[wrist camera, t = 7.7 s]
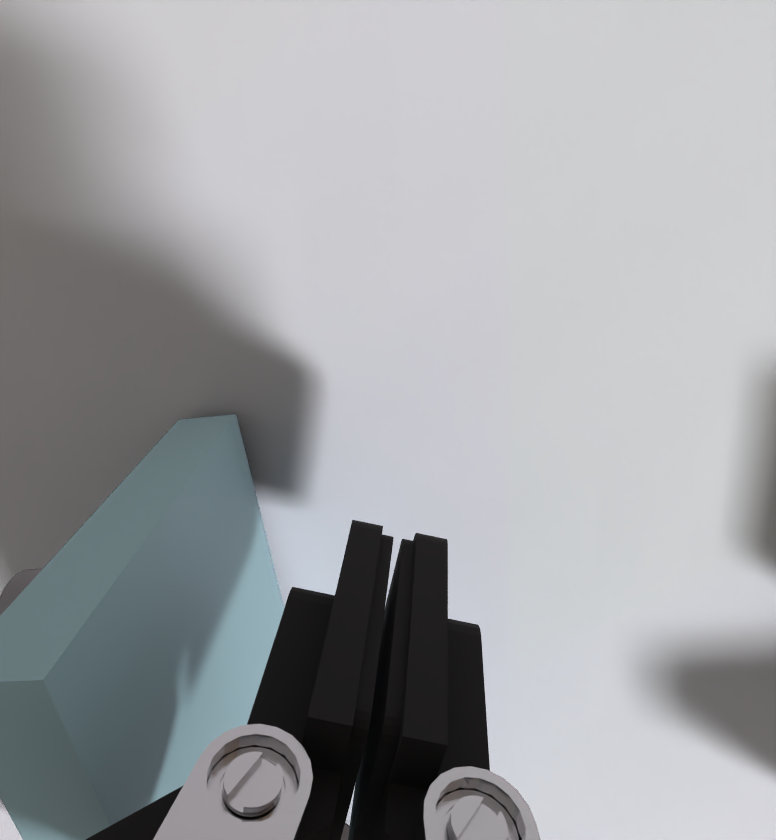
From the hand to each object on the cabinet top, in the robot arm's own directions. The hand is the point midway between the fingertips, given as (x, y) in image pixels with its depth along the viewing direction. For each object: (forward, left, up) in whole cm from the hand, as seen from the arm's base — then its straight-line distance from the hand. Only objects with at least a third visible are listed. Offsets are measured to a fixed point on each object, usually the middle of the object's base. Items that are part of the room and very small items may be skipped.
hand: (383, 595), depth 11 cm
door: (-3, +4, -3) cm, 6 cm away
